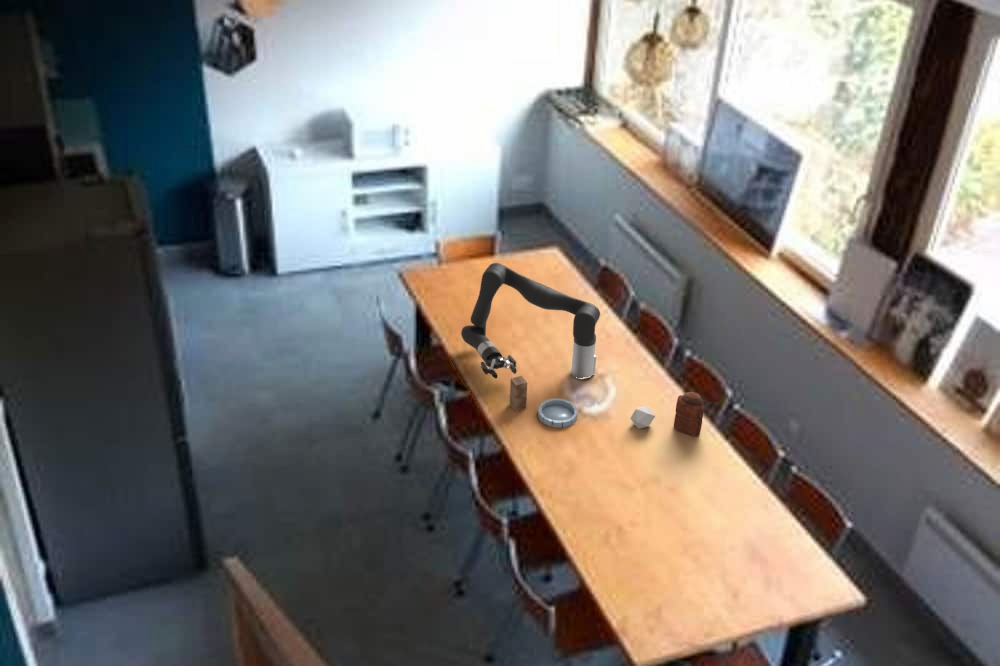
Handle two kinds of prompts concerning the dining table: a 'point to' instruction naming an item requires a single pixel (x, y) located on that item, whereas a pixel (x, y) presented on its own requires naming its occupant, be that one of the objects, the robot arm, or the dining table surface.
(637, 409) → the die
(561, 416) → the bowl
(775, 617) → the dining table surface
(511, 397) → the walnut block
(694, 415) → the wooden figurine
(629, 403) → the dining table surface
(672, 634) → the dining table surface
